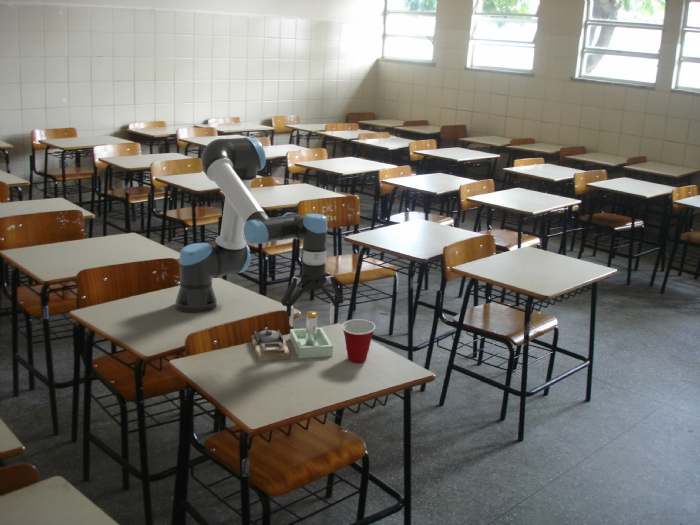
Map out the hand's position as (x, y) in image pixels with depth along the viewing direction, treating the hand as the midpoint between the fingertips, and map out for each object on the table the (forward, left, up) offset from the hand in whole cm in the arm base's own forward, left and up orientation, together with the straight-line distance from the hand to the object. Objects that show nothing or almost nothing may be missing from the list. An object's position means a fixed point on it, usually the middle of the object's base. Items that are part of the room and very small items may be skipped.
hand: (311, 324), depth 233 cm
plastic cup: (+12, +12, -8) cm, 19 cm away
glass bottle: (0, 0, -7) cm, 7 cm away
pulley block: (0, -14, -8) cm, 16 cm away
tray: (0, 0, -8) cm, 8 cm away
